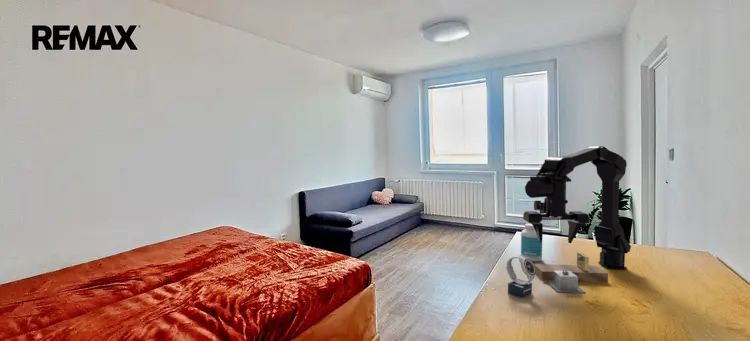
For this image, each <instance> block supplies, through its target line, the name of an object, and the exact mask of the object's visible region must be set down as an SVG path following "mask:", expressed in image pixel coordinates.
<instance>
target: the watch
mask: <svg viewBox="0 0 750 341" xmlns="http://www.w3.org/2000/svg"><path fill="white" fill-rule="evenodd" d="M514 259H518V261H519V263H520V268H521V271H522V272H523V274H524V275H526V278H527V280H524V279H520V278H518V277H517V274H516V273H515V270H514V267H513V265H512V264H513V263H512V262H513V260H514ZM534 264H535V263H534V262H532V261H531V260H529V259H527V258H526V257H523V256H521V255H515V256H512V257H510V258H509V259H508V260H507V261H506V266H505V267H506V272H507V274H508V276H509V278H510V280H512V281H509V282H507V294H509V295H511V296H515V297H518V298H520V299H524V298H526V297H527V296H530V295H531V294H532V293H533V292H532V291H533V286H532V285H533V280H534V279H535V276H536V269H535V266H534Z"/></svg>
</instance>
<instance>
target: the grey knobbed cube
mask: <svg viewBox="0 0 750 341" xmlns="http://www.w3.org/2000/svg"><path fill="white" fill-rule="evenodd" d="M553 283H554V284H555V285H556V286H557V287H558V288H559V289H561V290H578V286H579V282H578V277H577V276H576V275H575V274H574V273H572V272H571V271H555V270H553Z"/></svg>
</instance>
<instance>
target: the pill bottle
mask: <svg viewBox="0 0 750 341" xmlns="http://www.w3.org/2000/svg"><path fill="white" fill-rule="evenodd" d="M524 228H525V229H523V230H521V233H520V237H521V238H520V256H523V257H526V258H527V259H529V260H531V261H532V262H533V263H534V262H535V263H537V262H541V261H542V259H543V242H542V243H540V242H539V240H538V237H537V234H536V231H535V229H534V227H533V225H532V224H530V223H525V225H524Z"/></svg>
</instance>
